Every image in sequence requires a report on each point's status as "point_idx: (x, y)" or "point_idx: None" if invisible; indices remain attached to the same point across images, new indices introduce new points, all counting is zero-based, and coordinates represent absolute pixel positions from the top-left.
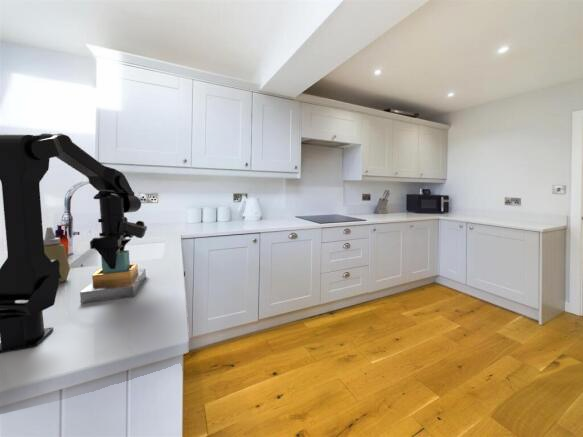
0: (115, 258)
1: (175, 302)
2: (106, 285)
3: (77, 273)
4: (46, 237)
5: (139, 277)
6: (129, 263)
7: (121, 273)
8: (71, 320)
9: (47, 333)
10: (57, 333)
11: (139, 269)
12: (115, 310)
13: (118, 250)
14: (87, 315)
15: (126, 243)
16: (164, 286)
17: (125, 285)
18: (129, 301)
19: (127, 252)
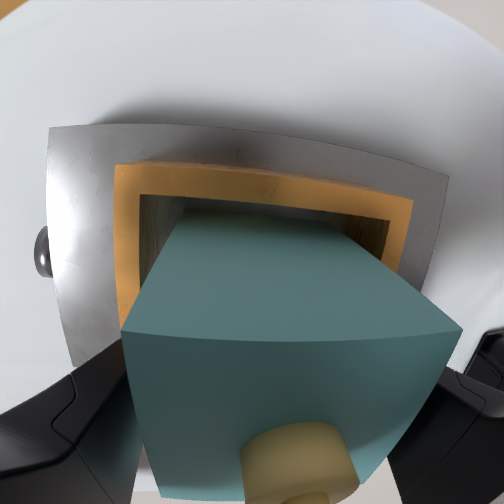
0: (451, 370)
1: (499, 61)
2: None
3: (5, 405)
4: None
5: (286, 136)
6: (175, 237)
7: (395, 261)
8: (468, 320)
9: (498, 332)
10: (498, 318)
11: (63, 165)
12: (484, 226)
13: (343, 456)
14: (468, 294)
15: (23, 470)
16: (341, 26)
17: (421, 214)
18: (450, 186)
19: (250, 327)
